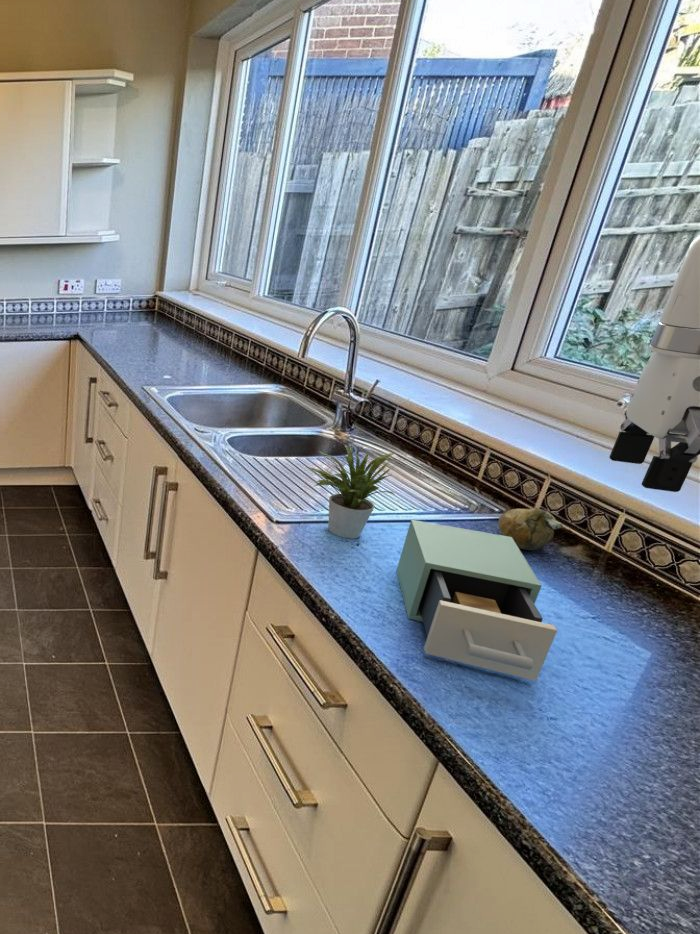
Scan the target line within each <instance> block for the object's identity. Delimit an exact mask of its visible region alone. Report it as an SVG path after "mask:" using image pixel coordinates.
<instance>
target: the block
mask: <svg viewBox="0 0 700 934" xmlns="http://www.w3.org/2000/svg"><path fill="white" fill-rule="evenodd" d="M452 603H455V604H459V605H464V606H469V607H473V608H478V609H482V610H487V611H491V612H496V613H501V612H500V609H499V607H498V605H497V603H496V601H495V600H492V599H488V598H483V597H478V596H474V595H469V594H464V593H459V592H455V594H454V597H453V600H452Z"/></svg>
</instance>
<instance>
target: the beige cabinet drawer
mask: <svg viewBox="0 0 700 934" xmlns="http://www.w3.org/2000/svg"><path fill="white" fill-rule="evenodd" d="M455 592H459V593H464V594H469V595H474V596H478V597H483V598H488V599H492V600H495V601H496V603H497V605H498V607H499V609H500V612H501V613H496V612H491V611H487V610H482V609H478V608H473V607H469V606H464V605H459V604H455V603H452V600H453V597H454V594H455ZM419 608H420V612H421V615H422V619H423V622H422V623H423V626H424V630H425V632H426V640H425V643H424V647H423V651H424V654H426V655H430V656H433V657H438V658H442V659H446V660H450V661H453V662H458V663H462V664H465V665H469V666H473V667H477V668H481V669H484V670H490V671H494V672H496V673H497V672H498V673H502V674H505V675H510V676H513V677H518V678H520V679H524V680H529V681H533V682H537V679H538V677H539V675H540V673H541V670H542V668H543V666H544V663H545V661H546V658H547V656H548V654H549V651H550V649H551V646H552V644H553V641H554V639H555V637H556V635H557V633H558V629H557V628H556V626H555V625H554V624H551V623H546V622H543V620H544V619H543V617H542V615H541V613H540V611H539V610H538V608H537V606H536V603H535V604H534V603H533V601H532V599H531V597H530V596H529V594H528V592H527V590H526V589H525V587H520V586H515V585H510V584H505V583H500V582H495V581H490V580H485V579H480V578H475V577H470V576H465V575H460V574H455V573H450V572H445V571H440V570H435V569H431V570H430V573H429V576H428V579H427V582H426V586H425V589H424V592H423V595H422V598H421V601H420V605H419Z"/></svg>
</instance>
